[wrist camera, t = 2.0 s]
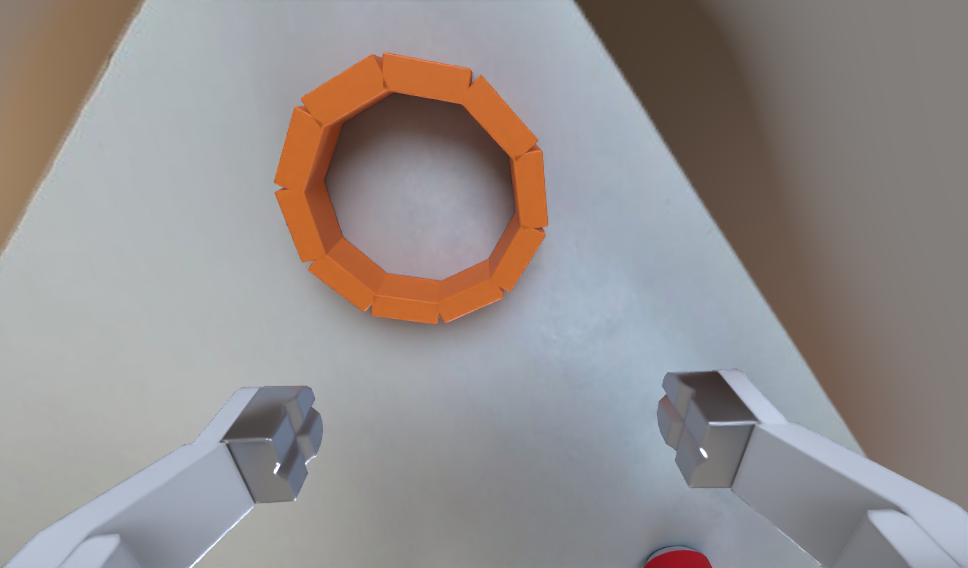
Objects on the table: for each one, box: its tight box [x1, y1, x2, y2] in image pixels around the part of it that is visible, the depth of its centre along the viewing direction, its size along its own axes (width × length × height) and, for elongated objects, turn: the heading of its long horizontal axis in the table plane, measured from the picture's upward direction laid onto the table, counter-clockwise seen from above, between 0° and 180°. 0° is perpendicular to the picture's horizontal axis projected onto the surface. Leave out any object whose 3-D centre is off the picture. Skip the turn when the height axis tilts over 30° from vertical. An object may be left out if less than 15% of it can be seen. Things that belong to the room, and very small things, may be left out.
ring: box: [274, 53, 548, 324], centre depth 20 cm, size 13×13×3 cm
